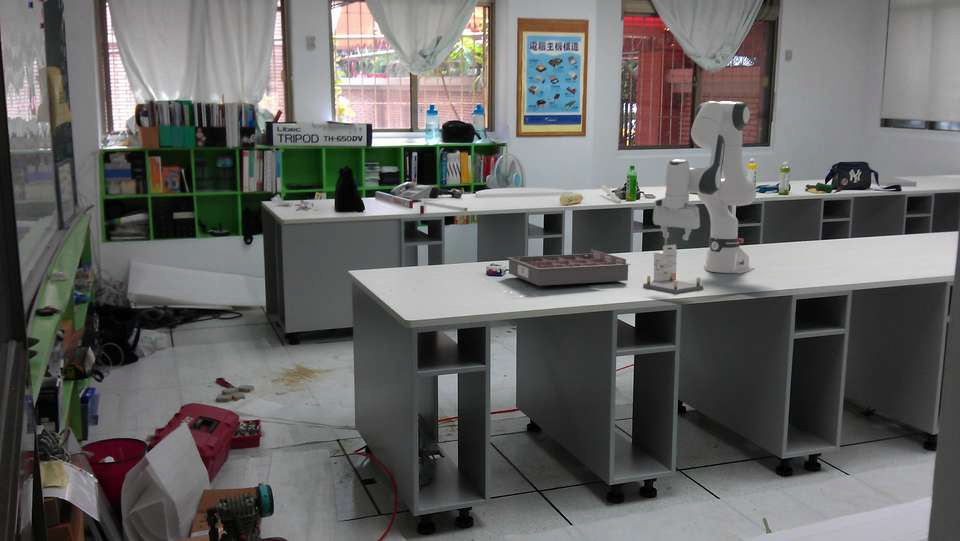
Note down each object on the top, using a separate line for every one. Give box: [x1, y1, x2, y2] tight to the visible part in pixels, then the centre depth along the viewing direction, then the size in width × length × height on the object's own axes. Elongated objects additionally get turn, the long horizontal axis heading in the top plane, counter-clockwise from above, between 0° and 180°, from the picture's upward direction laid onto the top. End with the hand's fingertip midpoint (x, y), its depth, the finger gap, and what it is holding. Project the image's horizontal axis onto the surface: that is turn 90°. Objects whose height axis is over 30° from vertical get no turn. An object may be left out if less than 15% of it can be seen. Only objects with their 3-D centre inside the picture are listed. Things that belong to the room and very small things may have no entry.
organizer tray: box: [506, 249, 631, 287], centre depth 359 cm, size 32×40×10 cm
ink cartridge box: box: [653, 244, 678, 282], centre depth 359 cm, size 9×5×15 cm, turn 129°
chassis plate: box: [642, 273, 704, 295], centre depth 342 cm, size 16×16×4 cm
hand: (675, 238), depth 339 cm, fingers open, 8 cm apart
